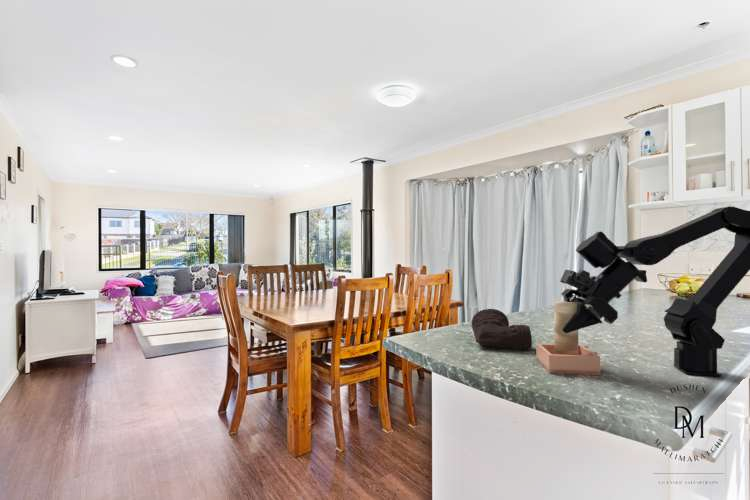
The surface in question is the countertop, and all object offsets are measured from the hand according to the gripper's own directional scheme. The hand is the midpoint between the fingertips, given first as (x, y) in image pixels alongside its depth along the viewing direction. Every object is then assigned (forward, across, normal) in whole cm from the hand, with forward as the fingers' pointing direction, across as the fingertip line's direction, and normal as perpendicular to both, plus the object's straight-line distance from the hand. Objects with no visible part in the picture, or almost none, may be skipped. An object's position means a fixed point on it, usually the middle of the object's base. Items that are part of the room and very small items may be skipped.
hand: (560, 329), depth 90 cm
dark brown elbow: (+14, -20, -1) cm, 24 cm away
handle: (-1, -17, +14) cm, 22 cm away
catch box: (+5, 0, +7) cm, 9 cm away
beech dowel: (+4, 0, +6) cm, 7 cm away
